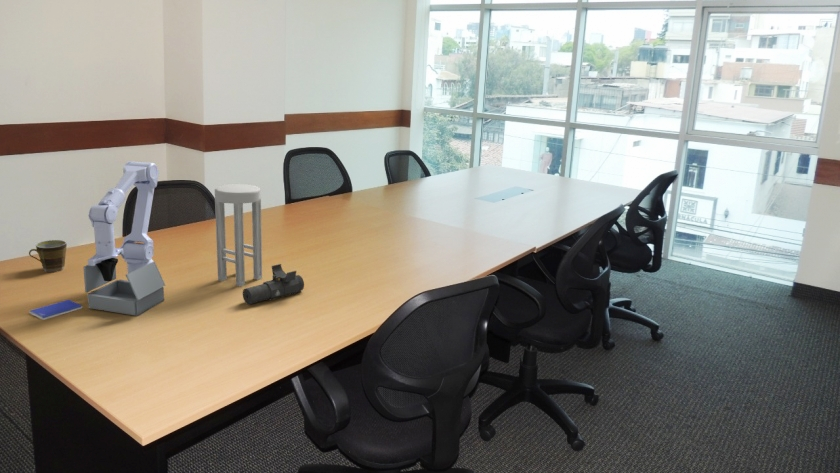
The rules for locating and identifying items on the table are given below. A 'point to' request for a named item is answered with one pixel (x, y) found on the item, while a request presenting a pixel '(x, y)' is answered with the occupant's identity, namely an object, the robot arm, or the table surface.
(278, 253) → the table surface
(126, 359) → the table surface
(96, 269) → the flap
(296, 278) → the laser sight
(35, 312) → the hard drive
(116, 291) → the carton
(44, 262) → the ceramic cup
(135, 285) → the flap
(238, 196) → the stool
